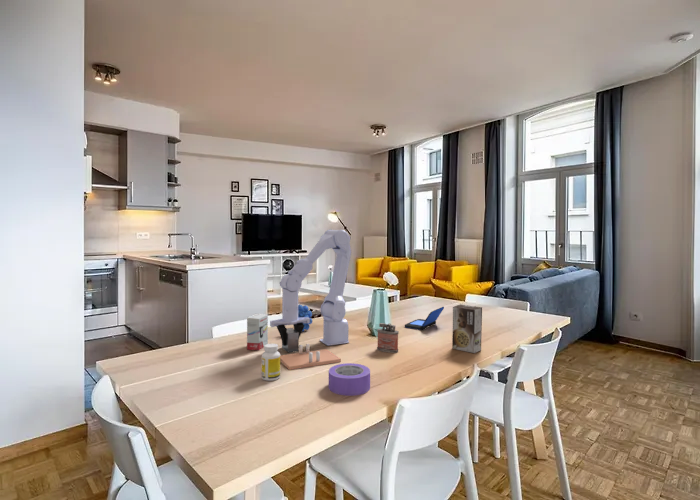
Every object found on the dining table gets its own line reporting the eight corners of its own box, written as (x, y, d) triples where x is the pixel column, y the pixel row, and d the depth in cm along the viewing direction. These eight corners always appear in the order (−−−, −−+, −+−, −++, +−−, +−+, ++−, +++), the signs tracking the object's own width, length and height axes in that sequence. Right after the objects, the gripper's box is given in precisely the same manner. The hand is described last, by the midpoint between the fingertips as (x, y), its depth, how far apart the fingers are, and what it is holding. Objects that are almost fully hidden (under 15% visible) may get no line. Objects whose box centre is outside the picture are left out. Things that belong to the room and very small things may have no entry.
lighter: (399, 350, 146) (399, 323, 146) (396, 353, 143) (397, 325, 143) (378, 347, 150) (379, 321, 149) (375, 350, 147) (376, 323, 146)
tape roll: (337, 399, 105) (337, 380, 104) (322, 383, 115) (322, 366, 115) (377, 392, 109) (377, 374, 109) (359, 377, 120) (359, 361, 120)
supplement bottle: (283, 375, 120) (283, 343, 119) (274, 382, 115) (274, 348, 114) (267, 373, 122) (267, 341, 121) (258, 379, 117) (258, 346, 116)
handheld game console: (418, 321, 194) (418, 302, 194) (444, 325, 186) (445, 306, 186) (403, 327, 181) (403, 307, 181) (430, 332, 174) (431, 311, 173)
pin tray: (326, 351, 144) (326, 340, 144) (340, 361, 133) (340, 350, 133) (278, 358, 136) (278, 347, 136) (289, 369, 125) (289, 357, 125)
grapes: (298, 336, 164) (298, 307, 163) (287, 333, 168) (287, 305, 168) (318, 331, 173) (318, 303, 172) (308, 328, 177) (308, 301, 177)
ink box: (258, 351, 144) (258, 318, 143) (246, 350, 145) (246, 317, 144) (268, 344, 152) (268, 313, 152) (256, 343, 153) (256, 313, 153)
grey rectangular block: (292, 346, 150) (292, 327, 150) (298, 351, 144) (298, 332, 143) (281, 347, 148) (282, 329, 148) (287, 352, 142) (288, 333, 142)
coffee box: (481, 350, 149) (483, 307, 148) (474, 353, 144) (475, 309, 143) (459, 344, 155) (460, 303, 154) (451, 348, 150) (452, 306, 149)
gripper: (274, 311, 138) (273, 349, 139) (312, 307, 145) (312, 344, 146) (268, 307, 145) (268, 344, 145) (306, 304, 151) (305, 339, 152)
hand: (290, 344), depth 146 cm, fingers closed on grey rectangular block, 4 cm apart
